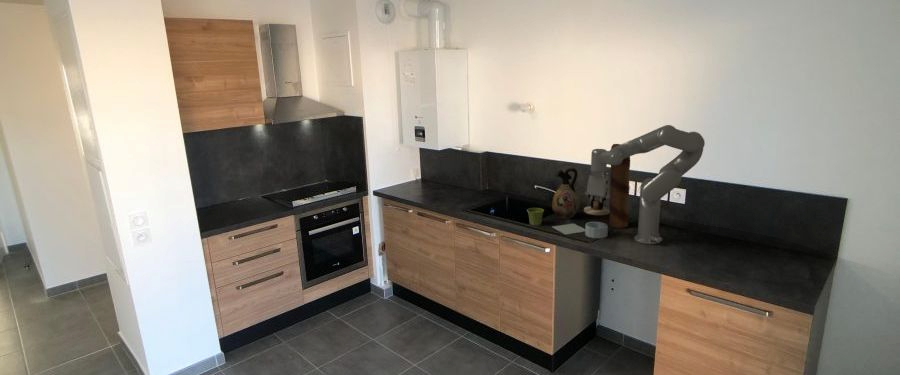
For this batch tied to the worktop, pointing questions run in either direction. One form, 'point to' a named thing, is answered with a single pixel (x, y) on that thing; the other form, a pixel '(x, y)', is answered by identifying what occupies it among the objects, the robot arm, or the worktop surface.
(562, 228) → the mat
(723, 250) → the worktop surface
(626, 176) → the wafer roll
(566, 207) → the ceramic jug
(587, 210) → the lid
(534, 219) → the plant pot
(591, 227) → the bowl
